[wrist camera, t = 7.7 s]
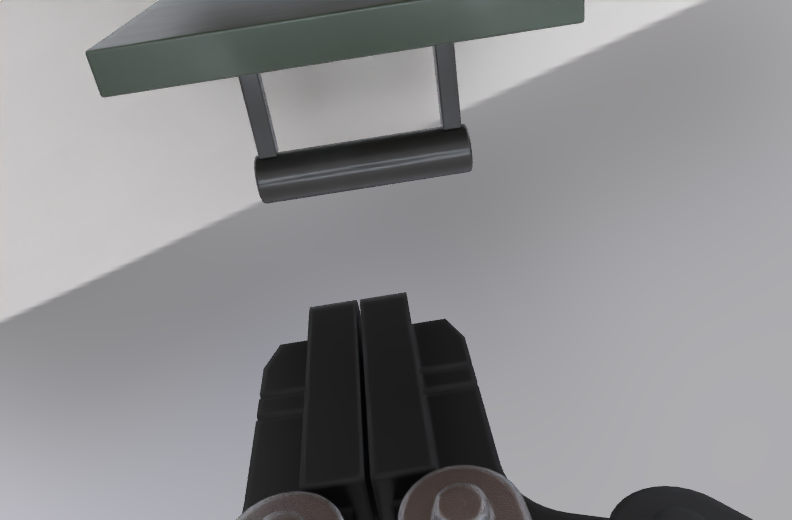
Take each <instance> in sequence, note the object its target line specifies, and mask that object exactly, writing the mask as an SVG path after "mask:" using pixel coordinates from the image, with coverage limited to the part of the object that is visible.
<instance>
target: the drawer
mask: <svg viewBox="0 0 792 520" xmlns="http://www.w3.org/2000/svg"><path fill="white" fill-rule="evenodd" d="M582 22H584V0H159V1H158V2H156V3H155V4H153V5H152V6H150V7H149V8H148V9H146V10H145V11H143V12H142V13H140V14H139V15H138V16H136V17H135V18H133V19H132V20H130V21H129V22H127V23H126V24H125V25H123V26H122V27H120V28H119V29H117V30H116V31H115V32H113V33H112V34H110V35H109V36H107V37H106V38H104V39H103V40H102V41H100V42H99V43H97V44H96V45H94V46H93V47H92V48H90V49H89V50H87V51H86V56H87V59H88V62H89V65H90V67H91V70H92V73H93V76H94V78H95V81H96V84H97V87H98V89H99V92H100V95H101V97H110V96H117V95H123V94H130V93H136V92H142V91H149V90H155V89H161V88H168V87H174V86H181V85H187V84H193V83H200V82H206V81H213V80H219V79H225V78H232V77H239V81H240V85H241V89H242V92H243V96H244V100H245V104H246V108H247V112H248V116H249V120H250V124H251V128H252V132H253V136H254V140H255V144H256V148H257V152H258V156H256V157H255V162H254V170H255V178H256V183H257V188H258V191H259V194H260V197H261V199H262V201H263V202H264V203H273V202H278V201H286V200H292V199H298V198H305V197H311V196H317V195H324V194H330V193H337V192H343V191H350V190H356V189H362V188H369V187H375V186H381V185H388V184H394V183H400V182H407V181H414V180H420V179H426V178H433V177H439V176H446V175H451V174H458V173H464V172H469V171H471V170H472V150H471V143H470V137H469V133H468V129H467V127H466V125H465V124H461V117H460V106H459V95H458V84H457V72H456V61H455V50H454V43H455V42H462V41H468V40H474V39H481V38H487V37H494V36H500V35H506V34H513V33H519V32H526V31H532V30H538V29H545V28H551V27H557V26H564V25H570V24H577V23H582ZM430 46H433V53H434V63H435V72H436V82H437V91H438V101H439V110H440V120H441V125H442V127H437V128H431V129H424V130H418V131H411V132H405V133H399V134H392V135H386V136H379V137H373V138H367V139H360V140H354V141H348V142H341V143H335V144H328V145H322V146H316V147H309V148H303V149H296V150H290V151H284V152H278V145H277V141H276V137H275V132H274V128H273V124H272V120H271V116H270V111H269V107H268V103H267V99H266V94H265V90H264V86H263V82H262V78H261V73H264V72H270V71H276V70H283V69H289V68H296V67H302V66H308V65H315V64H321V63H328V62H334V61H340V60H347V59H353V58H359V57H366V56H372V55H379V54H385V53H391V52H398V51H404V50H411V49H417V48H423V47H430Z"/></svg>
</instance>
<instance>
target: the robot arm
mask: <svg viewBox="0 0 792 520" xmlns="http://www.w3.org/2000/svg"><path fill="white" fill-rule="evenodd" d="M360 309H361V315H360V310H359V306H358V302H357V300H353V301H347V302H341V303H334V304H329V305H322V306H316V307H310V311H309V326H308V341H302V342H295V343H289V344H283V345H280V346H279V348H278V349H277V351H276V352H275V353H274V355H273V356H272V358H271V359H270V361H269V362H268V364H267V365H266V366H265V368H264V371H263V378H262V384H261V392H260V397H261V399H260V400H259V405H258V412H257V419H258V421H257V422H256V426H255V434H254V440H253V447H252V454H251V460H250V467H249V475H248V481H247V488H246V495H245V502H244V507H243V512H242V514H241V515H240V516H239V517H238V518H237V519H236V520H752V519H751V518H749V517H747V516H745V515H743V514H741V513H739V512H738V511H736V510H734V509H732V508H730V507H728V506H726V505H724V504H723V503H721V502H719V501H717V500H715V499H713V498H711V497H709V496H707V495H705V494H702V493H699V492H696V491H693V490H690V489H685V488H680V487H670V486H660V487H651V488H646V489H642V490H640V491H637V492H634V493H632V494H631V495H629V496H627V497H626V498H624V499H623V500H622V501H621V502H620V503H619V504H618V505H617V506H616V508H615V509H614V510H613V512H612V513H611V516H610V518H603V517H596V516H588V515H580V514H572V513H566V512H561V511H556V510H553V509H550V508H546V507H544V506H542V505H539V504H537V503H535V502H533V501H532V500H530V499H528V498H527V497H525V496H524V495H522V494H521V493H520V492H519V490H518V489H517V488H516V487H515V485H514V484H513V483H512V482H510V481H509V480H508V479H507V477H506V476H505V474H504V472H503V470H502V467H501V465H500V461H499V458H498V454H497V451H496V447H495V444H494V440H493V436H492V433H491V430H490V426H489V422H488V419H487V416H486V412H485V408H484V404H483V401H482V398H481V394H480V391H479V387H478V385H477V380H476V376H475V372H474V369H473V366H472V363H471V359H470V355H469V351H468V348H467V344H466V341H465V337H464V336H463V335H462V334H461V333H460V332H459V331H458V330H456V329H455V328H454V327H453V326H452V325H451V324H450V323H449V322H448V321H447V320H446V319H441V320H435V321H429V322H422V323H417V324H411V318H410V312H409V307H408V300H407V295H406V292H405V293H398V294H393V295H386V296H380V297H373V298H367V299H361V300H360Z"/></svg>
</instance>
